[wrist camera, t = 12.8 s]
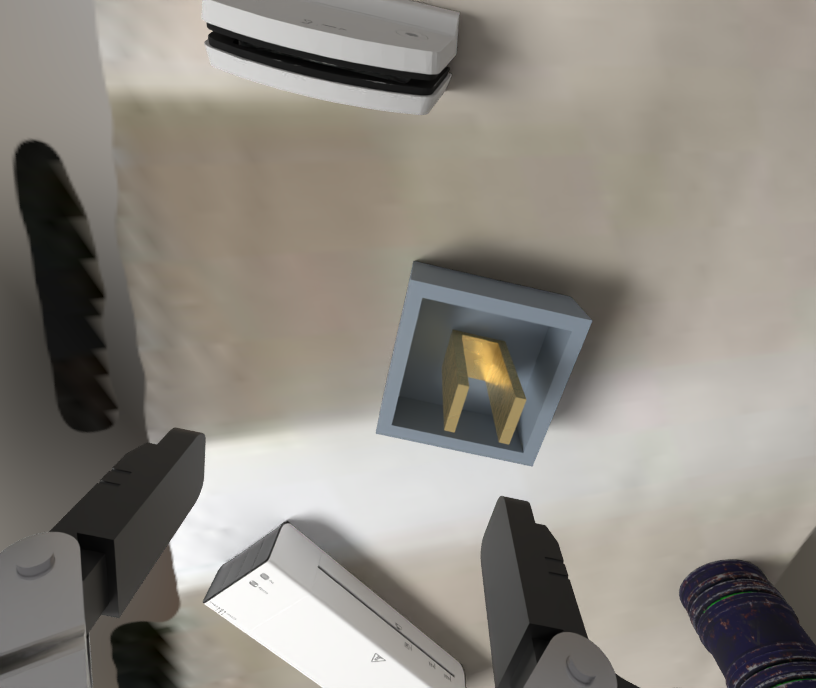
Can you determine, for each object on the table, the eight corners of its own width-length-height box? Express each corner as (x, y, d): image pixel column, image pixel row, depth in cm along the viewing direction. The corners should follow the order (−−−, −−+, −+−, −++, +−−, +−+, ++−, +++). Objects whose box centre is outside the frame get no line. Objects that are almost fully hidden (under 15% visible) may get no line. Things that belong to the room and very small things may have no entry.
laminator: (464, 664, 63) (468, 716, 57) (398, 696, 66) (394, 747, 61) (284, 515, 54) (267, 559, 48) (218, 561, 57) (194, 607, 52)
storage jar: (712, 628, 57) (800, 781, 43) (660, 590, 55) (735, 739, 41) (784, 587, 54) (905, 738, 40) (732, 545, 51) (841, 690, 38)
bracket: (505, 341, 42) (526, 399, 32) (492, 378, 44) (509, 444, 34) (452, 329, 42) (458, 384, 32) (441, 367, 43) (444, 430, 34)
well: (571, 296, 41) (592, 320, 35) (520, 428, 47) (532, 466, 41) (413, 261, 40) (410, 279, 35) (382, 398, 46) (375, 433, 40)
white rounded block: (465, 13, 33) (460, 41, 26) (449, 85, 36) (441, 128, 29) (234, -43, 32) (162, -29, 25) (239, 36, 35) (177, 68, 28)
